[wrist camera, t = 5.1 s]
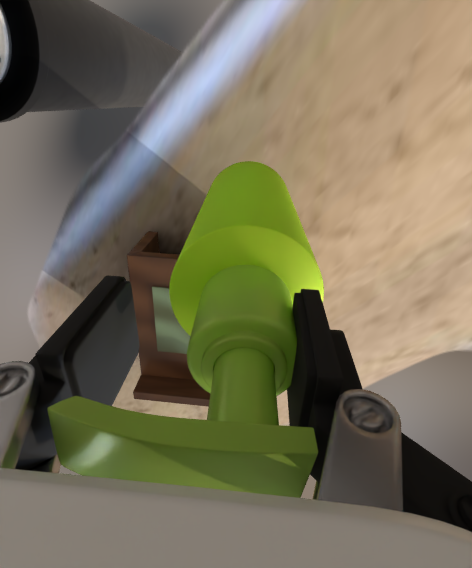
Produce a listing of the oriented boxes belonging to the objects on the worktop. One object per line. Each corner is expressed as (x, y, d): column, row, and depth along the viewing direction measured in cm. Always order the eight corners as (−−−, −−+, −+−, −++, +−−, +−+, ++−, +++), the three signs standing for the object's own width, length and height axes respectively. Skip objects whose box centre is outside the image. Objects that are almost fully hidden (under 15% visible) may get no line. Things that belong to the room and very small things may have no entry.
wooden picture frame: (148, 231, 41) (114, 267, 32) (261, 240, 40) (259, 279, 31) (158, 345, 50) (133, 398, 41) (251, 354, 49) (247, 410, 40)
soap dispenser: (196, 153, 22) (7, 343, 5) (296, 167, 23) (449, 398, 5) (191, 234, 25) (59, 534, 8) (280, 246, 26) (344, 565, 8)
